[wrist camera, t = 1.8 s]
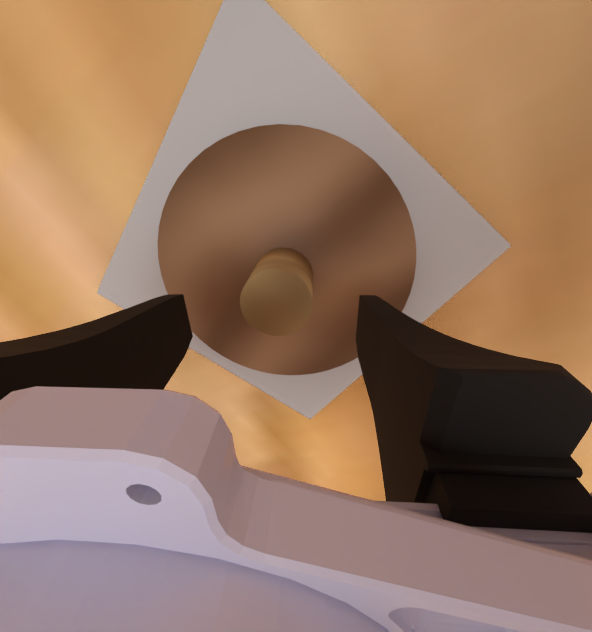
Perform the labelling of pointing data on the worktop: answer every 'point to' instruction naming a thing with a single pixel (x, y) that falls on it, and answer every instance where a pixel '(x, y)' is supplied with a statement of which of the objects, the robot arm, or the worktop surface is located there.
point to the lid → (284, 246)
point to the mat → (311, 111)
